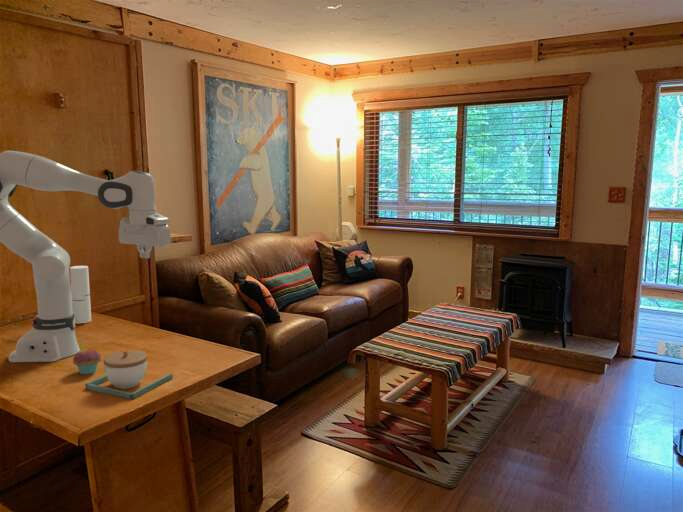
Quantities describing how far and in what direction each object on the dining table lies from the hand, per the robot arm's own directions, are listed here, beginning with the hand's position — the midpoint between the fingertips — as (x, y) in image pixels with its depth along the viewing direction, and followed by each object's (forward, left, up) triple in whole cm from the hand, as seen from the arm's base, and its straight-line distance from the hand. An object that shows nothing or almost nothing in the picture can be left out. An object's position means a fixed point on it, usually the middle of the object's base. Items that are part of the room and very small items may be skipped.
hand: (144, 257), depth 179 cm
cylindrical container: (-30, +55, -37) cm, 73 cm away
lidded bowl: (-6, -21, -37) cm, 44 cm away
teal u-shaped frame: (-4, -21, -37) cm, 43 cm away
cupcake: (-19, -7, -37) cm, 42 cm away
